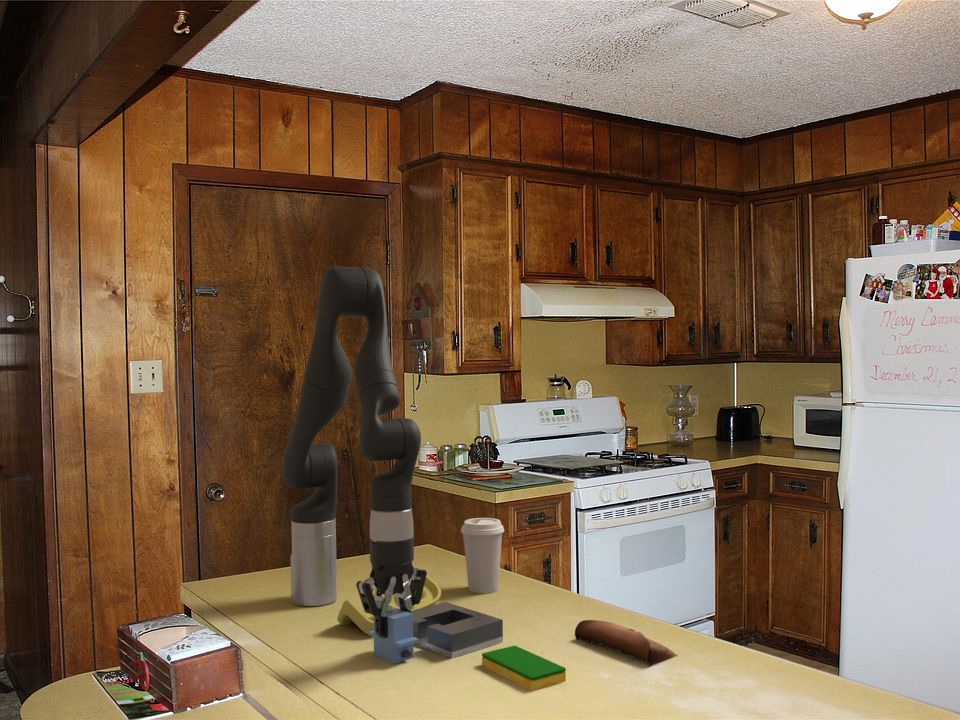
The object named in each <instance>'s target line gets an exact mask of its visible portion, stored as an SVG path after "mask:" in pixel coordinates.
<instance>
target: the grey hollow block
mask: <svg viewBox="0 0 960 720" xmlns="http://www.w3.org/2000/svg"><path fill="white" fill-rule="evenodd" d="M411 613H412V614H413V637H416V638H418V639H419V642H418V643H415V644H414V645H417V646H419V647H422V648H425V649H427V650H430V651H432V652H435V653H438V654H440V655H442V656H446V657H448V658H451V659H454V658H459V657H460V656H463V655H466V654H470V653H473V652H476V651H479V650H483V649H485V648H488V647H491V646H494V645H497V644H500V643H503V642H504V629H503V627H504V625H503V621H504V620H503V619H502V618H498V617H495V616H493V615H492V616H491V615H489V614H486V613H483V612H480V611H476V610H473V609H470V608H467V607H463V606H459V605H458V604H457V605H456V604H454V603H450V602H447V601H443V602H440V603H439V602H438V603H435V605H431V606H427V607H424V608H420V609H416V610H412V611H411Z"/></svg>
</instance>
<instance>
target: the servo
mask: <svg viewBox="0 0 960 720" xmlns="http://www.w3.org/2000/svg"><path fill="white" fill-rule="evenodd" d="M386 616H387V617H388V637H387V638H384V639H383V638H381V637H378V635H377V634H376V632H375V616H374V615H373V620H374V631H370V632H369V635H368V636H369V637H372V638H373V655H374V656H376V657H379V658H381V659H383V660H386V661H387V662H388V661H389V662H391V663H393V664H396V663H397V664H398V663H401V662H404V661H407V660H411V659H413V658H415V657H414V655H415V654H414V645H416V644H415V643H418V642H419V639H418V638H416V637H413V614H412V613H409V612H405V611H402V610H399V609H397V608H394V607H392V606H391V605H388V611H387V615H386Z"/></svg>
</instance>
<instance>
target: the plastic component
mask: <svg viewBox="0 0 960 720" xmlns="http://www.w3.org/2000/svg"><path fill="white" fill-rule="evenodd" d="M410 582H411V581H409V586H410ZM415 592H416V591H415ZM414 596H415V595H414ZM441 596H442V591H441V587H440V585H438V583H437V582H436V581H434V579H432V578H431V577H430V576H429V575H428V574H427V575H426V580H425V584H424V588H423V592H422V596H421V601H420V603H419V604H415V605H414V606H413V607H412V609H411V611H412V610H416V609H420V608H424V607H427V606H431V605H435V604H437V602H438V601H439V600H440V598H441ZM389 605H391V606H392V607H394V608H397V609H400V607H399V605H398V601H397V597H396V596H395V594H394V595H392V599H391V603H389ZM336 620H337V622H338V623H339V624H340V625H343V626H346V625H349V624H352V622H353V623H354V624H355V625H356V626H357V627H358V628H359V629H360V630H361V631H362V632H363V633H364V634H366V635H368V636H369V632H370V631H374V620H373V615H372V614H369V613H366V612H365V611H364V608H363V605H362V606H359V607H358V606H357V605H356V604H354V602H353V601H352V600H350V599H347V600H345V601H343V603H342V605H341V608H340V610H339V612H338V615H337V619H336Z"/></svg>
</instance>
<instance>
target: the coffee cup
mask: <svg viewBox="0 0 960 720" xmlns="http://www.w3.org/2000/svg"><path fill="white" fill-rule="evenodd" d="M460 532H461V534H462V536H463V547H464V553H465V554H464V555H465V556H464V557H465V565H466V566H465V567H466V575H467V576H466V577H467V587H468V591H469V592H470V591H471V593H473V592H474V594H491V592H492V593H495V591H496V592H498V590H499V582H500V581H499V580H500V568H501V567H500V566H501V554H502V552H501V551H502V540H503V539H502V538H503V533H504V532H505V528H504V525H502V522H501V520H500V519H498V518H491V517H476V518H474V517H473V518H469V519H466V520H464V522H463V525H461V528H460Z"/></svg>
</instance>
